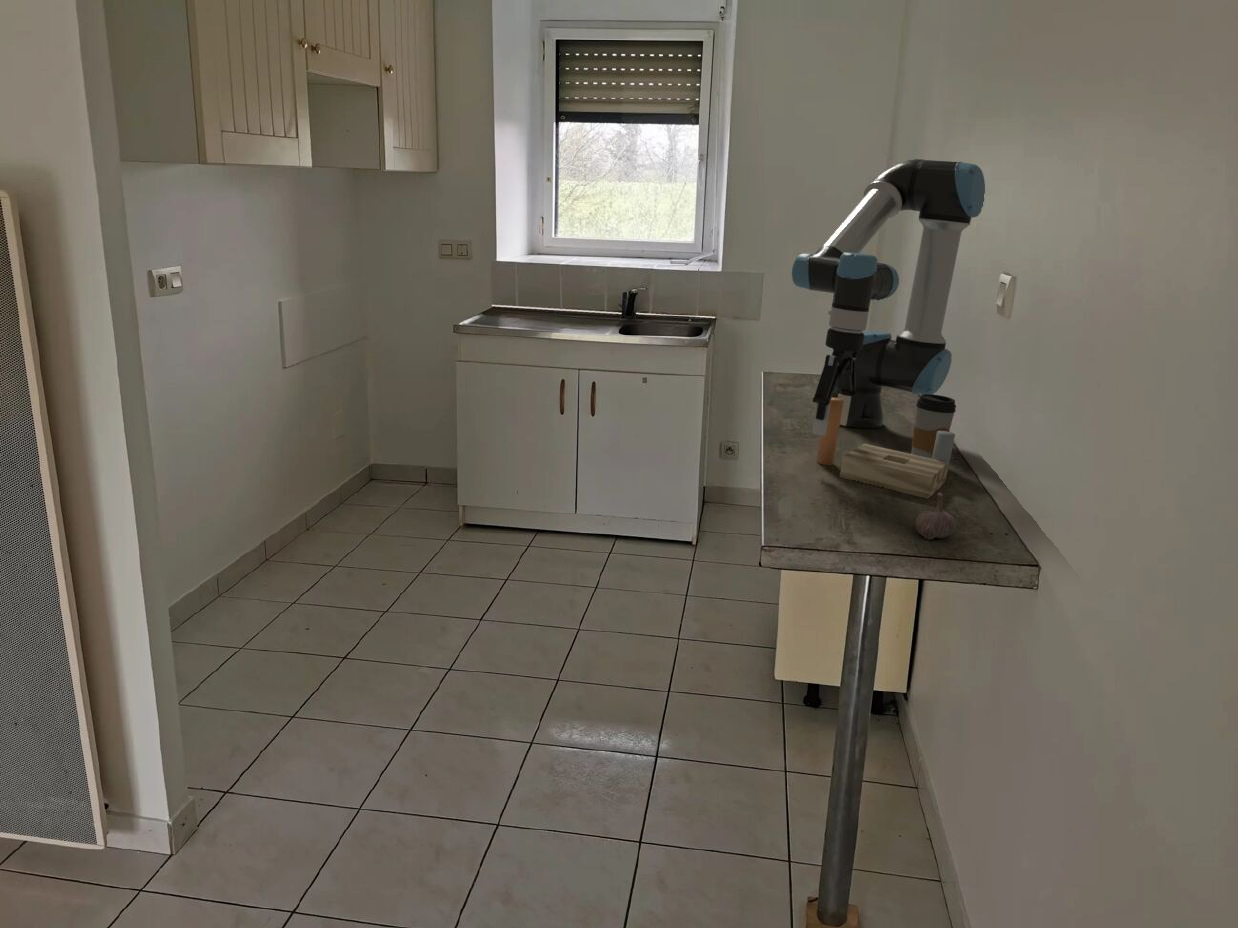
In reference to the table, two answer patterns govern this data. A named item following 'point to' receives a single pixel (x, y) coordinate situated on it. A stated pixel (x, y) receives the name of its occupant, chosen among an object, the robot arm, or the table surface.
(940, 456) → the grey dowel
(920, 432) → the coffee cup
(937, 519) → the garlic bulb
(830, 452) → the tapered brown peg
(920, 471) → the bore block
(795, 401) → the table surface
